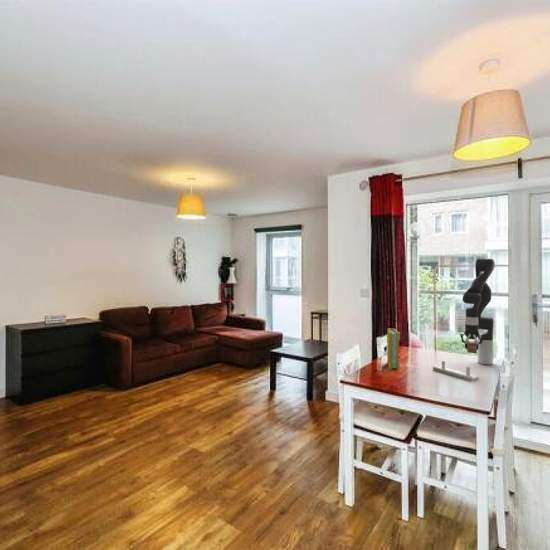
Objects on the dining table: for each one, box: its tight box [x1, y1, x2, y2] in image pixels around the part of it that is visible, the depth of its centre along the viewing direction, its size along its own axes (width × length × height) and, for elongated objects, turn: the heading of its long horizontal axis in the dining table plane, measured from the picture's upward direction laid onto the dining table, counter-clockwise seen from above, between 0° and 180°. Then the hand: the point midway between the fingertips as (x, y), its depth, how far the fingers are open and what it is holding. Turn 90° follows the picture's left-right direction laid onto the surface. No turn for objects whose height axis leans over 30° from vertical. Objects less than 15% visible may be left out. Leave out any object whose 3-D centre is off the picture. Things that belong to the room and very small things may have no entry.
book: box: [386, 327, 401, 371], centre depth 243 cm, size 17×7×25 cm, turn 168°
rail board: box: [432, 360, 479, 382], centre depth 224 cm, size 8×26×6 cm, turn 29°
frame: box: [466, 339, 478, 354], centre depth 227 cm, size 12×5×6 cm, turn 154°
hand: (471, 349), depth 227 cm, fingers closed on frame, 5 cm apart
